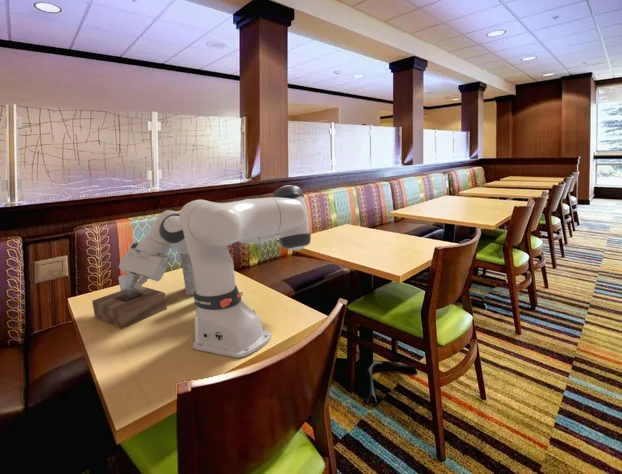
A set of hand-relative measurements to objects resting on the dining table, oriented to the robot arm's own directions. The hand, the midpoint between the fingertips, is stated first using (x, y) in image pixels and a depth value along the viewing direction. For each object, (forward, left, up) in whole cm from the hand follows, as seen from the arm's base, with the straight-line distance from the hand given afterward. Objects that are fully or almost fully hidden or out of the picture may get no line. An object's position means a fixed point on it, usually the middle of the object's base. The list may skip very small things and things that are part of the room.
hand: (130, 287), depth 122 cm
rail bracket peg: (0, 0, -6) cm, 6 cm away
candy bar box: (-4, -24, -9) cm, 26 cm away
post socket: (-1, +1, -9) cm, 9 cm away
